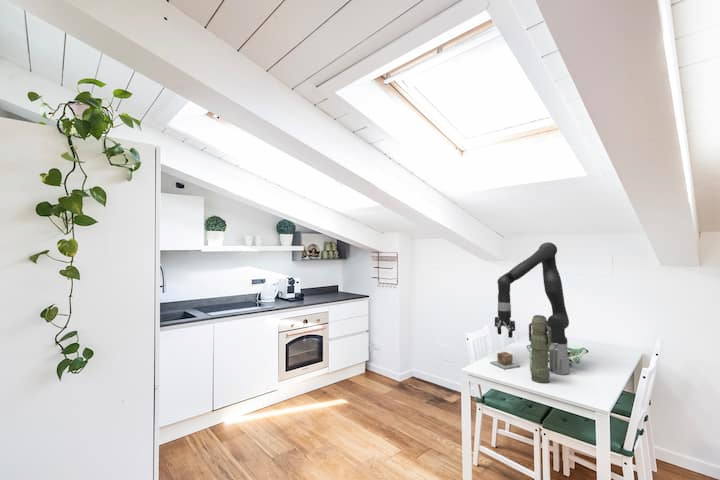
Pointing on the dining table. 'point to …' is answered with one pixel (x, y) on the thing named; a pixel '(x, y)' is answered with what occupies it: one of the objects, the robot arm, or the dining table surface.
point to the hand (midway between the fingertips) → (504, 335)
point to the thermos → (540, 348)
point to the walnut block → (504, 358)
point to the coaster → (505, 366)
